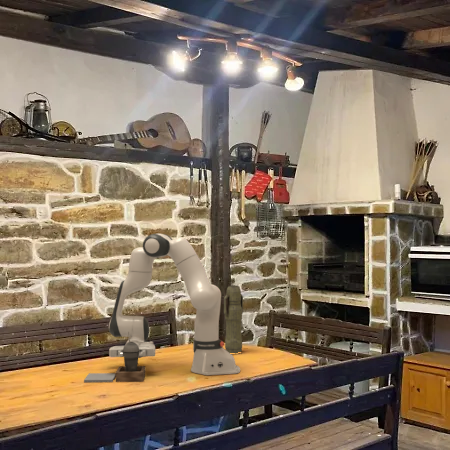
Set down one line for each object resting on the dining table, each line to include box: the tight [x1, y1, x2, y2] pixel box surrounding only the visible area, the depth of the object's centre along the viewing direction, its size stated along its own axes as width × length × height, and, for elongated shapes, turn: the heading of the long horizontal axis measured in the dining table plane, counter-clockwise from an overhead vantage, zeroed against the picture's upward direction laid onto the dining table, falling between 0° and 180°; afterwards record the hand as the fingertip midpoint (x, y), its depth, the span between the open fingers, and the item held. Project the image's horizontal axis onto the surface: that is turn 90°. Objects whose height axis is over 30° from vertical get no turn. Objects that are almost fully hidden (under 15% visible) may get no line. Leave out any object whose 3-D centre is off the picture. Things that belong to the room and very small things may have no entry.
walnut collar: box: [115, 365, 146, 383], centre depth 263 cm, size 12×12×4 cm
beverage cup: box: [123, 332, 139, 372], centre depth 264 cm, size 7×7×20 cm
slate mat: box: [83, 372, 116, 383], centre depth 263 cm, size 12×12×1 cm
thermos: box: [223, 285, 244, 353], centre depth 319 cm, size 9×12×35 cm
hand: (130, 355), depth 263 cm, fingers closed on beverage cup, 7 cm apart
